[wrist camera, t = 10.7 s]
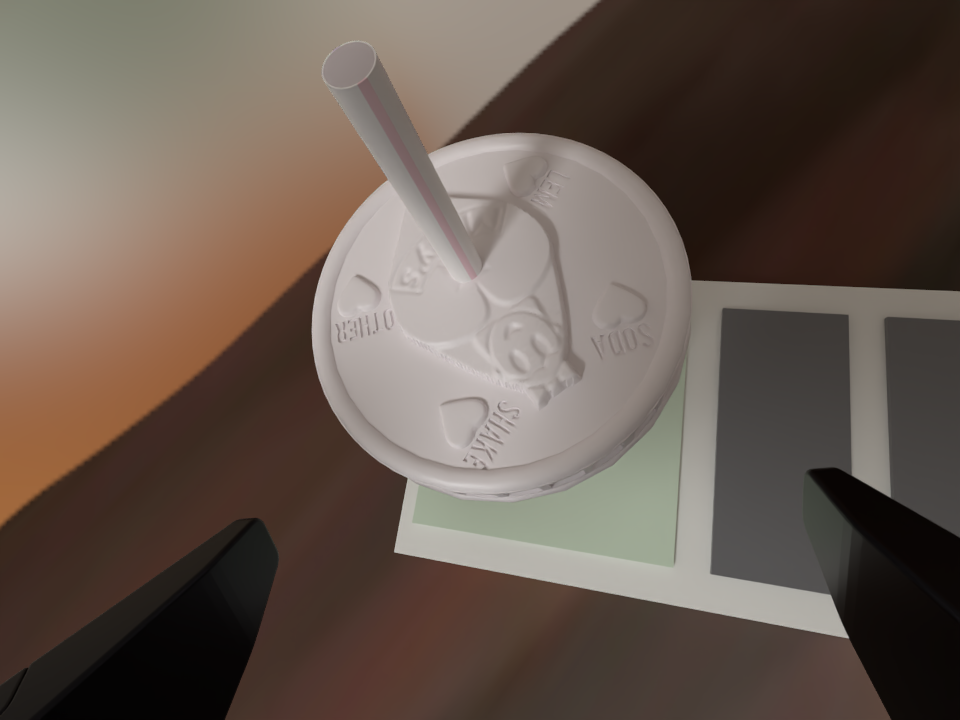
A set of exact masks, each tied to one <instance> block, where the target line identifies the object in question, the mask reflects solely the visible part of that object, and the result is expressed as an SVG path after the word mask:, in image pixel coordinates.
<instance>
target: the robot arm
mask: <svg viewBox="0 0 960 720" xmlns="http://www.w3.org/2000/svg"><path fill="white" fill-rule="evenodd" d="M802 517H803V522H804V526H805V529H806V532H807V534H808V537H809V540H810V542H811V545H812V547H813V550H814V553H815V555H816V558H817V560H818V563H819V566H820V568H821V571H822V573H823V576H824V579H825V581H826V584H827V586H828V589H829V592H830V594H831V597H832V599H833V602H834V605H835V607H836V610H837V612H838V615H839V617H840V620H841V622H842V624H843V627H844V629H845V631H846V633H847V635H848V637H849V639H850V641H851V643H852V645H853V647H854V649H855V651H856V653H857V655H858V657H859V659H860V660H861V662H862V664H863V666H864V668H865V670H866V672H867V674H868V676H869V678H870V680H871V682H872V684H873V685H874V687H875V689H876V691H877V693H878V695H879V697H880V699H881V701H882V703H883V705H884V707H885V709H886V710H887V712H888V714H889V716H890V718H891V720H960V537H958V536H957V535H955V534H953V533H951V532H950V531H948V530H946V529H944V528H943V527H941V526H939V525H937V524H936V523H934V522H932V521H931V520H929V519H927V518H925V517H924V516H922V515H920V514H918V513H917V512H915V511H913V510H911V509H910V508H908V507H906V506H904V505H903V504H901V503H899V502H897V501H896V500H894V499H892V498H890V497H889V496H887V495H885V494H883V493H882V492H880V491H878V490H876V489H875V488H873V487H871V486H869V485H868V484H866V483H864V482H862V481H861V480H859V479H857V478H855V477H854V476H852V475H850V474H848V473H847V472H845V471H843V470H841V469H839V468H836V467H826V468H815V469H809V470H807V471H806V472H805V474H804V479H803V501H802ZM278 561H279V555H278V551H277V548H276V546H275V544H274V542H273V540H272V538H271V536H270V534H269V532H268V530H267V528H266V526H265V524H264V522H263V521H262V520H260V519H258V518H248V519H239V520H236V521H234V522H233V523H231V524H230V525H229V526H227V527H226V528H224V529H223V530H221V531H220V532H219V533H217V534H216V535H214V536H213V537H211V538H210V539H209V540H207V541H206V542H204V543H203V544H201V545H200V546H199V547H197V548H196V549H194V550H193V551H191V552H190V553H189V554H187V555H186V556H184V557H183V558H181V559H180V560H179V561H177V562H176V563H174V564H173V565H171V566H170V567H169V568H167V569H166V570H164V571H163V572H161V573H160V574H159V575H157V576H156V577H154V578H153V579H151V580H150V581H149V582H147V583H146V584H144V585H143V586H141V587H140V588H139V589H137V590H136V591H134V592H133V593H131V594H130V595H129V596H127V597H126V598H124V599H123V600H121V601H120V602H119V603H117V604H116V605H114V606H113V607H111V608H110V609H109V610H107V611H106V612H104V613H103V614H101V615H100V616H99V617H97V618H96V619H94V620H93V621H91V622H90V623H89V624H87V625H86V626H84V627H83V628H81V629H80V630H79V631H77V632H76V633H74V634H73V635H71V636H70V637H69V638H67V639H66V640H64V641H63V642H61V643H60V644H59V645H57V646H56V647H54V648H53V649H51V650H50V651H49V652H47V653H46V654H44V655H43V656H41V657H40V658H39V659H37V660H36V661H34V662H33V663H31V665H30V666H29V668H24V669H23V670H21V671H20V672H18V673H17V674H16V675H14V676H13V677H11V678H10V679H8V680H7V681H6V682H4V683H3V684H1V685H0V720H225V718H226V715H227V713H228V710H229V708H230V705H231V703H232V700H233V698H234V695H235V693H236V690H237V688H238V685H239V683H240V680H241V678H242V675H243V673H244V670H245V668H246V665H247V663H248V660H249V657H250V655H251V652H252V649H253V647H254V644H255V641H256V637H257V634H258V631H259V628H260V624H261V621H262V618H263V614H264V611H265V608H266V604H267V601H268V597H269V594H270V591H271V587H272V584H273V580H274V577H275V574H276V570H277V567H278Z"/></svg>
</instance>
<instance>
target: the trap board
mask: <svg viewBox="0 0 960 720" xmlns="http://www.w3.org/2000/svg"><path fill="white" fill-rule="evenodd" d="M691 282H692V315H691V321H690V325H691V336H690V340H689V344H688V348H687V351H686V355H685V359H684V363H683V367H682V371H681V375H680V379H679V383H678V385H677V386H676V388H675V390H674V391H673V393H672V395H671V397H670V398H669V400H668V402H667V403H666V405H665V407H664V408H663V410H662V412H661V414H660V415H659V417H658V419H657V420H656V422H655V424H654V425H653V427H652V428H651V429H650V430H649V431H648V432H647V433H646V434H645V435H644V436H643V437H642V438H641V439H640V440H639V441H638V442H637V443H636V444H635V445H634V446H633V447H632V448H631V449H629V450H628V451H627V452H626V453H625V454H624V455H623V456H622V457H621V458H620V459H619V460H618V461H617V462H616V463H615V464H614V465H613V466H611V467H609V468H607V469H605V470H603V471H601V472H599V473H598V474H596V475H594V476H592V477H590V478H588V479H586V480H584V481H583V482H581V483H579V484H577V485H575V486H573V487H571V488H570V489H568V490H566V491H562V492H558V493H553V494H549V495H545V496H540V497H536V498H531V499H527V500H522V501H518V502H513V503H512V502H493V501H474V500H461V499H458V498H455V497H452V496H450V495H447V494H444V493H441V492H438V491H435V490H432V489H429V488H426V487H424V486H421V485H418V484H415V483H414V482H413V481H411V480H410V479H408V480H407V486H406V491H405V497H404V502H403V507H402V513H401V518H400V523H399V529H398V534H397V539H396V545H395V550H394V552H396V553H401V554H406V555H411V556H417V557H422V558H427V559H433V560H438V561H443V562H448V563H454V564H459V565H464V566H469V567H475V568H480V569H485V570H491V571H496V572H501V573H506V574H512V575H517V576H522V577H528V578H533V579H538V580H543V581H549V582H554V583H559V584H564V585H570V586H575V587H580V588H586V589H591V590H596V591H601V592H607V593H612V594H617V595H622V596H628V597H633V598H638V599H644V600H649V601H654V602H659V603H665V604H670V605H675V606H681V607H686V608H691V609H696V610H702V611H707V612H712V613H717V614H723V615H728V616H733V617H739V618H744V619H749V620H754V621H760V622H765V623H770V624H776V625H781V626H786V627H791V628H797V629H802V630H807V631H812V632H818V633H823V634H828V635H834V636H839V637H844V638H849V637H848V635H847V633H846V631H845V629H844V627H843V624H842V622H841V620H840V617H839V615H838V612H837V610H836V607H835V605H834V602H833V599H832V597H831V594H830V592H829V589H828V586H827V584H826V581H825V579H824V576H823V573H822V571H821V568H820V566H819V563H818V560H817V558H816V555H815V553H814V550H813V547H812V545H811V542H810V540H809V537H808V534H807V532H806V529H805V526H804V522H803V517H802V501H803V479H804V474H805V472H806V471H807V470H809V469H815V468H826V467H836V468H839V469H841V470H843V471H845V472H847V473H848V474H850V475H852V476H854V477H855V478H857V479H859V480H861V481H862V482H864V483H866V484H868V485H869V486H871V487H873V488H875V489H876V490H878V491H880V492H882V493H883V494H885V495H887V496H889V497H890V498H892V499H894V500H896V501H897V502H899V503H901V504H903V505H904V506H906V507H908V508H910V509H911V510H913V511H915V512H917V513H918V514H920V515H922V516H924V517H925V518H927V519H929V520H931V521H932V522H934V523H936V524H937V525H939V526H941V527H943V528H944V529H946V530H948V531H950V532H951V533H953V534H955V535H957V536H958V537H960V291H937V290H913V289H889V288H864V287H840V286H816V285H791V284H767V283H743V282H718V281H694V280H691Z"/></svg>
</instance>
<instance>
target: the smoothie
mask: <svg viewBox="0 0 960 720" xmlns="http://www.w3.org/2000/svg"><path fill="white" fill-rule="evenodd" d="M322 78H323V80H324V82H325V84H326V85H327V87H328V88H329V90H330V91H331V93H332V94H333V96H334V97H335V98H336V100H337V102H338V104H339V105H340V107H341V108H342V110H343V111H344V113H345V114H346V116H347V117H348V118H349V120H350V122H351V123H352V125H353V126H354V128H355V129H356V131H357V133H358V134H359V136H360V137H361V139H362V140H363V142H364V143H365V145H366V146H367V148H368V149H369V151H370V152H371V154H372V156H373V157H374V158H375V160H376V162H377V163H378V164H379V166H380V168H381V169H382V171H383V172H384V174H385V175H386V177H387V178H388V180H387V181H386V182H385V183H383V184H382V185H381V186H380V187H379V188H378V189H377V190H375V191H374V192H373V193H372V194H371V195H370V196H369V197H368V198H367V199H366V200H365V201H364V203H363V204H362V205H361V206H360V207H359V208H358V209H357V211H356V212H355V213H354V215H353V216H352V217H351V218H350V220H349V221H348V222H347V224H346V225H345V227H344V228H343V230H342V231H341V233H340V234H339V236H338V238H337V240H336V241H335V243H334V245H333V247H332V249H331V251H330V253H329V255H328V258H327V260H326V262H325V265H324V267H323V270H322V273H321V276H320V279H319V282H318V287H317V291H316V295H315V300H314V307H313V316H312V345H313V353H314V359H315V365H316V369H317V373H318V377H319V380H320V383H321V385H322V388H323V391H324V394H325V396H326V398H327V400H328V402H329V404H330V406H331V408H332V410H333V412H334V413H335V415H336V416H337V418H338V419H339V421H340V423H341V424H342V425H343V427H344V428H345V429H346V430H347V432H348V433H349V434H350V435H351V437H352V438H353V439H354V440H355V441H356V442H357V443H358V444H359V445H360V446H361V447H362V448H363V449H364V450H365V451H366V452H368V453H369V454H370V455H371V456H373V457H374V458H375V459H376V460H378V461H379V462H380V463H382V464H384V465H385V466H387V467H388V468H390V469H391V470H393V471H395V472H397V473H399V474H401V475H403V476H405V477H407V478H408V479H410V480H411V481H413V482H414V483H415V484H418V485H421V486H424V487H426V488H429V489H432V490H435V491H438V492H441V493H444V494H447V495H450V496H452V497H455V498H458V499H461V500H474V501H493V502H512V503H513V502H518V501H522V500H527V499H531V498H536V497H540V496H545V495H549V494H553V493H558V492H562V491H566V490H568V489H570V488H571V487H573V486H575V485H577V484H579V483H581V482H583V481H584V480H586V479H588V478H590V477H592V476H594V475H596V474H598V473H599V472H601V471H603V470H605V469H607V468H609V467H611V466H613V465H614V464H615V463H616V462H617V461H618V460H619V459H620V458H621V457H622V456H623V455H624V454H625V453H626V452H627V451H628V450H629V449H631V448H632V447H633V446H634V445H635V444H636V443H637V442H638V441H639V440H640V439H641V438H642V437H643V436H644V435H645V434H646V433H647V432H648V431H649V430H650V429H651V428H652V427H653V425H654V424H655V422H656V420H657V419H658V417H659V415H660V414H661V412H662V410H663V408H664V407H665V405H666V403H667V402H668V400H669V398H670V397H671V395H672V393H673V391H674V390H675V388H676V386H677V385H678V383H679V379H680V375H681V371H682V367H683V363H684V359H685V355H686V351H687V348H688V344H689V340H690V336H691V325H690V321H691V315H692V282H691V273H690V267H689V262H688V257H687V254H686V251H685V247H684V244H683V241H682V238H681V236H680V234H679V231H678V229H677V227H676V225H675V223H674V221H673V219H672V217H671V216H670V214H669V212H668V210H667V209H666V207H665V206H664V205H663V203H662V202H661V201H660V199H659V198H658V196H657V195H656V194H655V193H654V192H653V191H652V189H651V188H650V187H649V186H648V185H647V184H646V183H645V182H644V181H643V180H642V179H641V178H640V177H638V176H637V175H636V174H635V173H634V172H633V171H632V170H630V169H629V168H627V167H626V166H625V165H623V164H622V163H620V162H619V161H617V160H616V159H614V158H612V157H610V156H609V155H607V154H605V153H603V152H601V151H599V150H597V149H595V148H592V147H590V146H588V145H585V144H582V143H579V142H576V141H573V140H570V139H565V138H561V137H556V136H551V135H543V134H534V133H504V134H495V135H487V136H482V137H477V138H473V139H468V140H465V141H461V142H458V143H455V144H452V145H449V146H446V147H444V148H441V149H439V150H436V151H434V152H432V153H430V154H427V152H426V150H425V148H424V146H423V144H422V142H421V140H420V138H419V136H418V135H417V132H416V130H415V128H414V126H413V124H412V123H411V120H410V119H409V116H408V115H407V113H406V111H405V109H404V107H403V105H402V103H401V101H400V99H399V97H398V95H397V93H396V91H395V89H394V87H393V85H392V83H391V81H390V79H389V77H388V75H387V73H386V71H385V69H384V67H383V65H382V63H381V61H380V59H379V58H378V56H377V53H376V52H375V50H374V48H373V47H372V46H371V45H370V44H369V43H367V42H364V41H350V42H346V43H344V44H342V45H340V46H338V47H337V48H335V49H334V50H333V51H332V52H331V53H330V54H329V55H328V56H327V58H326V59H325V61H324V63H323V65H322Z"/></svg>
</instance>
